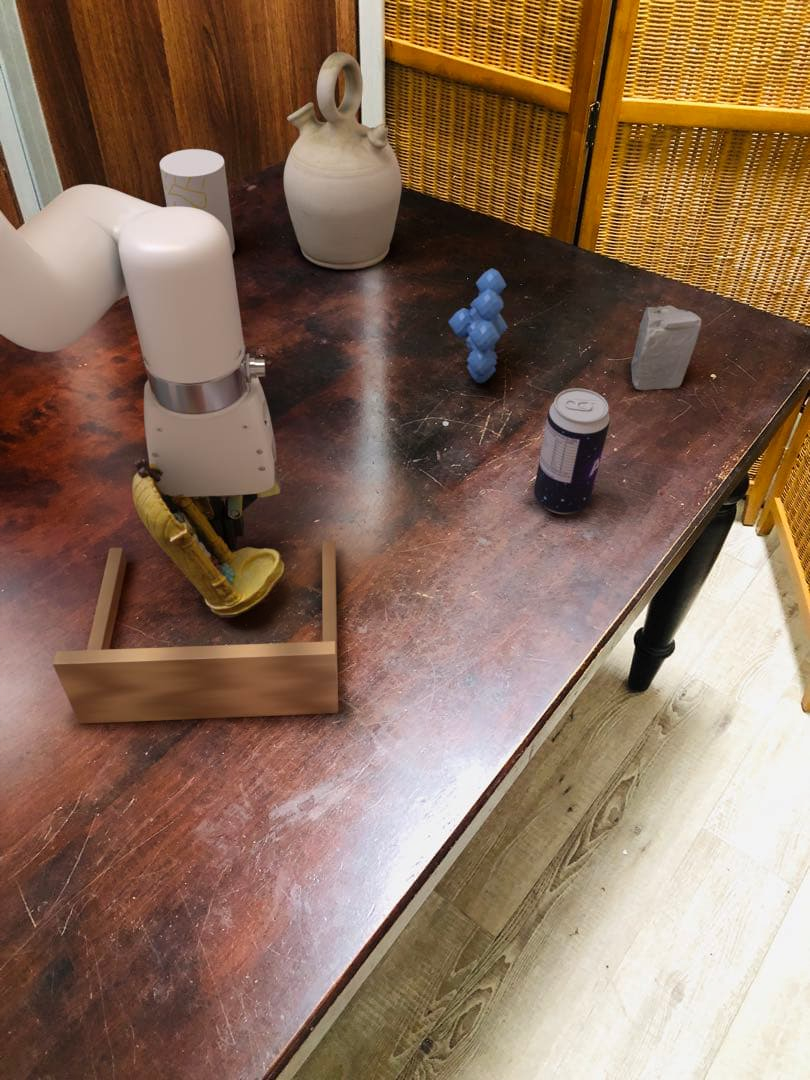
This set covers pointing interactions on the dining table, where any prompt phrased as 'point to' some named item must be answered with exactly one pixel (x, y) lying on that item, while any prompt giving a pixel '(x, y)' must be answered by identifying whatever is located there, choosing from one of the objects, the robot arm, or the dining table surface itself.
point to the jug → (341, 177)
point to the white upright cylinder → (198, 184)
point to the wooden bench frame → (199, 669)
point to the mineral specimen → (664, 347)
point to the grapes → (482, 325)
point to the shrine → (204, 549)
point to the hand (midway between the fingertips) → (228, 539)
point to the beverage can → (571, 450)
